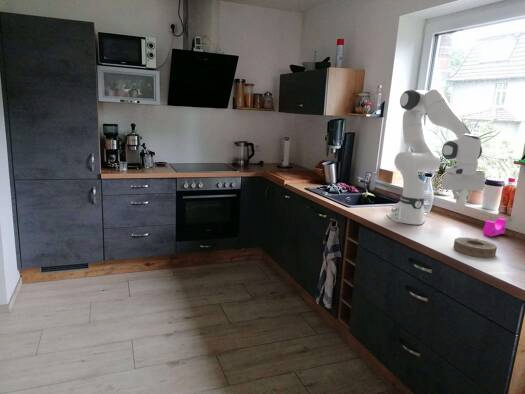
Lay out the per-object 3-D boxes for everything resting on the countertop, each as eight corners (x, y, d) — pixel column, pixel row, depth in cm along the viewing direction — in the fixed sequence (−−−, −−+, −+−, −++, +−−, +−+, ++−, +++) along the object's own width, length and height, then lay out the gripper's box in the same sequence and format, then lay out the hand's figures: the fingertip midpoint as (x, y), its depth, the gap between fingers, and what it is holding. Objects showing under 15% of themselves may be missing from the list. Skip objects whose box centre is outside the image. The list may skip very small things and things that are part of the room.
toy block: (491, 230, 215) (494, 216, 214) (504, 233, 211) (506, 219, 209) (478, 233, 207) (480, 219, 205) (490, 236, 202) (493, 222, 200)
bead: (446, 245, 180) (447, 237, 180) (476, 245, 184) (477, 237, 183) (470, 258, 165) (472, 249, 164) (503, 257, 168) (505, 248, 167)
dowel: (452, 208, 185) (456, 187, 183) (460, 208, 186) (463, 187, 184) (458, 210, 181) (462, 188, 179) (466, 210, 182) (469, 188, 180)
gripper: (480, 169, 185) (475, 198, 188) (442, 168, 181) (437, 197, 184) (490, 171, 179) (485, 201, 182) (451, 170, 175) (446, 200, 178)
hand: (461, 199), depth 183 cm, fingers closed on dowel, 4 cm apart
